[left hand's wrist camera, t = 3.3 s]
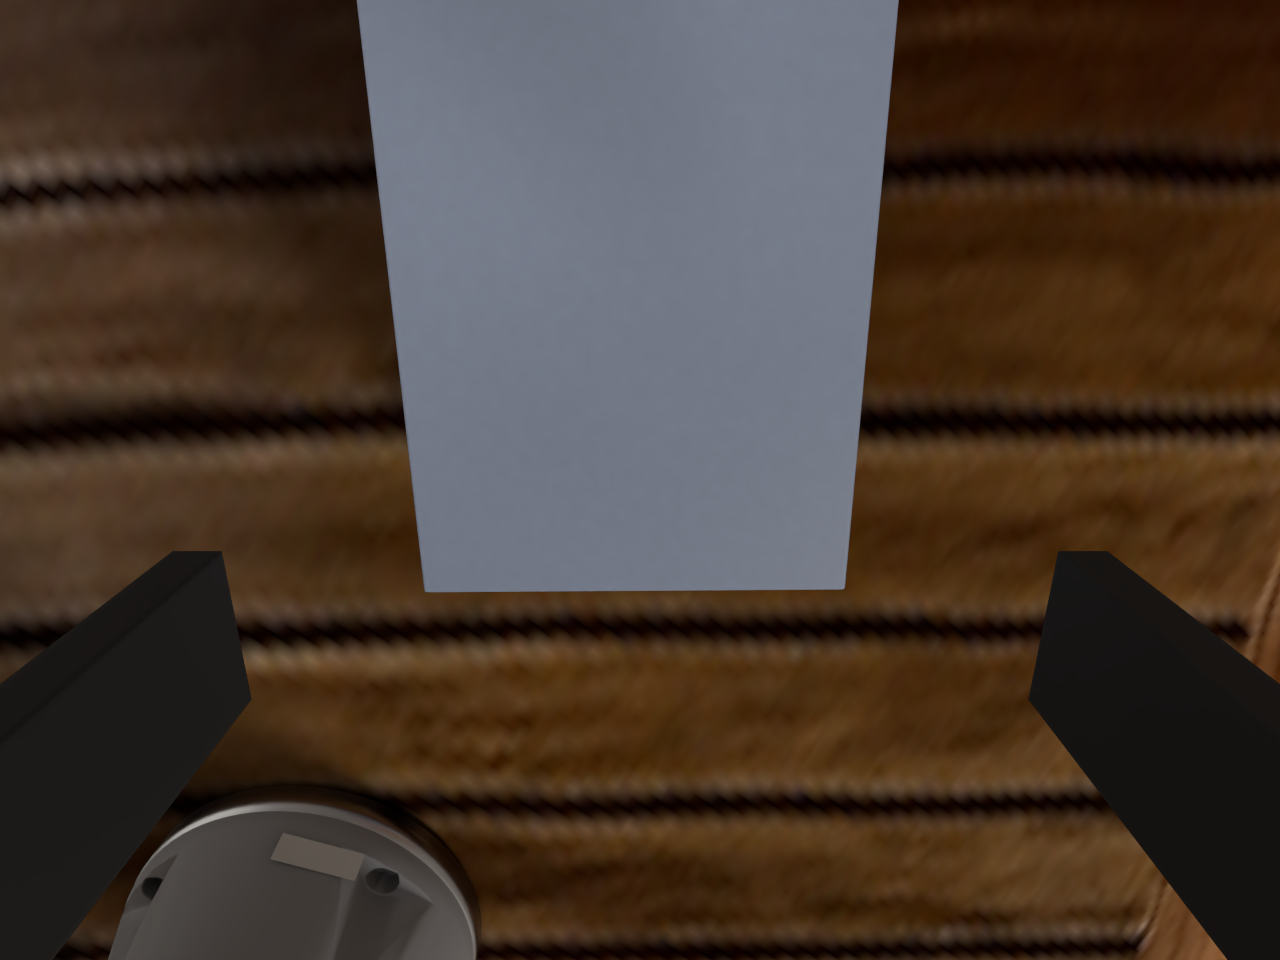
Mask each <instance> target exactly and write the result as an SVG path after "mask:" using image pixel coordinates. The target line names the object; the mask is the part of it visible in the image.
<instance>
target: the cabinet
mask: <svg viewBox="0 0 1280 960" xmlns="http://www.w3.org/2000/svg"><path fill="white" fill-rule="evenodd" d="M898 1H899V0H357V7H358V16H359V24H360V33H361V42H362V50H363V59H364V68H365V77H366V85H367V94H368V103H369V111H370V120H371V129H372V138H373V146H374V155H375V164H376V172H377V181H378V190H379V198H380V207H381V216H382V225H383V233H384V242H385V251H386V259H387V268H388V277H389V286H390V294H391V303H392V312H393V320H394V329H395V338H396V347H397V355H398V364H399V373H400V381H401V390H402V399H403V407H404V416H405V425H406V434H407V442H408V451H409V460H410V468H411V477H412V486H413V495H414V503H415V512H416V521H417V529H418V538H419V547H420V555H421V564H422V573H423V582H424V590H425V592H514V591H665V590H816V589H844V587H845V579H846V569H847V558H848V547H849V536H850V525H851V514H852V503H853V492H854V481H855V470H856V459H857V448H858V438H859V427H860V416H861V405H862V394H863V383H864V372H865V361H866V350H867V339H868V328H869V318H870V307H871V296H872V285H873V274H874V263H875V252H876V241H877V230H878V219H879V208H880V197H881V187H882V176H883V165H884V154H885V143H886V132H887V121H888V110H889V99H890V88H891V77H892V67H893V56H894V45H895V34H896V23H897V12H898Z"/></svg>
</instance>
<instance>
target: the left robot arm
mask: <svg viewBox="0 0 1280 960" xmlns="http://www.w3.org/2000/svg"><path fill="white" fill-rule="evenodd" d="M250 701H251V694H250V689H249V685H248V680H247V675H246V670H245V665H244V660H243V655H242V650H241V645H240V640H239V635H238V630H237V625H236V620H235V615H234V610H233V605H232V600H231V595H230V591H229V586H228V581H227V576H226V571H225V566H224V561H223V556H222V551H172V552H171V553H170V554H169V555H167V556H166V557H165V558H163V559H162V560H161V561H160V562H158V563H157V564H156V565H154V566H153V567H152V568H150V569H149V570H148V571H147V572H145V573H144V574H143V575H141V576H140V577H139V578H137V579H136V580H135V581H134V582H132V583H131V584H130V585H128V586H127V587H126V588H124V589H123V590H122V591H121V592H119V593H118V594H117V595H115V596H114V597H113V598H111V599H110V600H109V601H108V602H106V603H105V604H104V605H102V606H101V607H100V608H98V609H97V610H96V611H95V612H93V613H92V614H91V615H89V616H88V617H87V618H86V619H84V620H83V621H82V622H80V623H79V624H78V625H76V626H75V627H74V628H73V629H71V630H70V631H69V632H67V633H66V634H65V635H63V636H62V637H61V638H60V639H58V640H57V641H56V642H54V643H53V644H52V645H50V646H49V647H48V648H47V649H45V650H44V651H43V652H41V653H40V654H39V655H37V656H36V657H35V658H34V659H32V660H31V661H30V662H28V663H27V664H26V665H25V666H23V667H22V668H21V669H19V670H18V671H17V672H15V673H14V674H13V675H12V676H10V677H9V678H8V679H6V680H5V681H4V682H2V683H1V684H0V960H53V958H54V957H55V956H56V954H57V953H58V952H59V951H60V949H61V948H62V947H63V945H64V944H65V943H66V941H67V940H68V939H69V937H70V936H71V935H72V934H73V932H74V931H75V930H76V928H77V927H78V926H79V924H80V923H81V922H82V920H83V919H84V918H85V917H86V915H87V914H88V913H89V911H90V910H91V909H92V907H93V906H94V905H95V903H96V902H97V901H98V900H99V898H100V897H101V896H102V894H103V893H104V892H105V890H106V889H107V888H108V886H109V885H110V884H111V883H112V881H113V880H114V879H115V877H116V876H117V875H118V873H119V872H120V871H121V869H122V868H123V867H124V866H125V864H126V863H127V862H128V860H129V859H130V858H131V856H132V855H133V854H134V852H135V851H136V850H137V849H138V847H139V846H140V845H141V843H142V842H143V841H144V839H145V838H146V837H147V835H148V834H149V833H150V832H151V830H152V829H153V828H154V826H155V825H156V824H157V822H158V821H159V820H160V818H161V817H162V816H163V815H164V813H165V812H166V811H167V809H168V808H169V807H170V805H171V804H172V803H173V801H174V800H175V799H176V798H177V796H178V795H179V794H180V792H181V791H182V790H183V788H184V787H185V786H186V784H187V783H188V782H189V781H190V779H191V778H192V777H193V775H194V774H195V773H196V771H197V770H198V769H199V767H200V766H201V765H202V764H203V762H204V761H205V760H206V758H207V757H208V756H209V754H210V753H211V752H212V750H213V749H214V748H215V747H216V745H217V744H218V743H219V741H220V740H221V739H222V737H223V736H224V735H225V733H226V732H227V731H228V730H229V728H230V727H231V726H232V724H233V723H234V722H235V720H236V719H237V718H238V716H239V715H240V714H241V713H242V711H243V710H244V709H245V707H246V706H247V705H248V703H249V702H250ZM1029 701H1030V702H1031V703H1032V705H1033V706H1034V707H1035V709H1036V710H1037V711H1038V713H1039V714H1040V715H1041V716H1042V718H1043V719H1044V720H1045V722H1046V723H1047V724H1048V726H1049V727H1050V728H1051V730H1052V731H1053V732H1054V733H1055V735H1056V736H1057V737H1058V739H1059V740H1060V741H1061V743H1062V744H1063V745H1064V747H1065V748H1066V749H1067V750H1068V752H1069V753H1070V754H1071V756H1072V757H1073V758H1074V760H1075V761H1076V762H1077V764H1078V765H1079V766H1080V767H1081V769H1082V770H1083V771H1084V773H1085V774H1086V775H1087V777H1088V778H1089V779H1090V781H1091V782H1092V783H1093V784H1094V786H1095V787H1096V788H1097V790H1098V791H1099V792H1100V794H1101V795H1102V796H1103V798H1104V799H1105V800H1106V801H1107V803H1108V804H1109V805H1110V807H1111V808H1112V809H1113V811H1114V812H1115V813H1116V815H1117V816H1118V817H1119V818H1120V820H1121V821H1122V822H1123V824H1124V825H1125V826H1126V828H1127V829H1128V830H1129V832H1130V833H1131V834H1132V835H1133V837H1134V838H1135V839H1136V841H1137V842H1138V843H1139V845H1140V846H1141V847H1142V849H1143V850H1144V851H1145V852H1146V854H1147V855H1148V856H1149V858H1150V859H1151V860H1152V862H1153V863H1154V864H1155V866H1156V867H1157V868H1158V869H1159V871H1160V872H1161V873H1162V875H1163V876H1164V877H1165V879H1166V880H1167V881H1168V883H1169V884H1170V885H1171V886H1172V888H1173V889H1174V890H1175V892H1176V893H1177V894H1178V896H1179V897H1180V898H1181V900H1182V901H1183V902H1184V903H1185V905H1186V906H1187V907H1188V909H1189V910H1190V911H1191V913H1192V914H1193V915H1194V917H1195V918H1196V919H1197V920H1198V922H1199V923H1200V924H1201V926H1202V927H1203V928H1204V930H1205V931H1206V932H1207V934H1208V935H1209V936H1210V937H1211V939H1212V940H1213V941H1214V943H1215V944H1216V945H1217V947H1218V948H1219V949H1220V951H1221V952H1222V953H1223V954H1224V956H1225V957H1226V958H1227V960H1280V684H1279V683H1278V682H1276V681H1275V680H1274V679H1272V678H1271V677H1270V676H1268V675H1267V674H1266V673H1265V672H1263V671H1262V670H1261V669H1259V668H1258V667H1257V666H1255V665H1254V664H1253V663H1252V662H1250V661H1249V660H1248V659H1246V658H1245V657H1244V656H1243V655H1241V654H1240V653H1239V652H1237V651H1236V650H1235V649H1233V648H1232V647H1231V646H1230V645H1228V644H1227V643H1226V642H1224V641H1223V640H1222V639H1220V638H1219V637H1218V636H1217V635H1215V634H1214V633H1213V632H1211V631H1210V630H1209V629H1207V628H1206V627H1205V626H1204V625H1202V624H1201V623H1200V622H1198V621H1197V620H1196V619H1194V618H1193V617H1192V616H1191V615H1189V614H1188V613H1187V612H1185V611H1184V610H1183V609H1182V608H1180V607H1179V606H1178V605H1176V604H1175V603H1174V602H1172V601H1171V600H1170V599H1169V598H1167V597H1166V596H1165V595H1163V594H1162V593H1161V592H1159V591H1158V590H1157V589H1156V588H1154V587H1153V586H1152V585H1150V584H1149V583H1148V582H1146V581H1145V580H1144V579H1143V578H1141V577H1140V576H1139V575H1137V574H1136V573H1135V572H1133V571H1132V570H1131V569H1130V568H1128V567H1127V566H1126V565H1124V564H1123V563H1122V562H1120V561H1119V560H1118V559H1117V558H1115V557H1114V556H1113V555H1111V554H1110V553H1109V552H1108V551H1058V556H1057V561H1056V566H1055V571H1054V576H1053V581H1052V586H1051V591H1050V595H1049V600H1048V605H1047V610H1046V615H1045V620H1044V625H1043V630H1042V635H1041V640H1040V645H1039V650H1038V655H1037V660H1036V665H1035V670H1034V675H1033V680H1032V685H1031V689H1030V694H1029ZM480 938H481V916H480V909H479V905H478V900H477V897H476V894H475V892H474V889H473V886H472V884H471V882H470V880H469V878H468V876H467V875H466V873H465V871H464V870H463V868H462V867H461V865H460V864H459V862H458V861H457V860H456V859H455V857H454V856H453V855H452V854H451V852H450V851H449V850H448V849H447V848H446V847H445V846H444V845H443V844H442V843H441V842H440V841H439V840H438V839H437V838H435V837H434V836H433V835H432V834H431V833H430V832H428V831H427V830H426V829H424V828H423V827H422V826H420V825H419V824H417V823H416V822H415V821H413V820H411V819H410V818H408V817H406V816H405V815H403V814H401V813H400V812H398V811H395V810H393V809H391V808H389V807H387V806H385V805H383V804H381V803H378V802H375V801H373V800H370V799H368V798H365V797H362V796H358V795H355V794H352V793H348V792H344V791H339V790H335V789H329V788H323V787H316V786H302V785H278V786H266V787H259V788H253V789H247V790H243V791H240V792H236V793H232V794H229V795H226V796H224V797H221V798H218V799H216V800H214V801H212V802H210V803H207V804H205V805H203V806H202V807H200V808H198V809H197V810H195V811H194V812H192V813H190V814H189V815H188V816H187V817H185V818H184V819H183V820H182V821H180V822H179V823H178V824H177V825H176V826H175V827H174V828H173V829H172V830H171V831H170V832H169V834H168V835H167V836H166V838H165V839H164V840H163V841H162V843H161V844H160V846H159V847H158V848H157V850H156V851H155V852H154V854H153V855H152V856H151V858H150V859H149V861H148V862H147V863H146V865H145V866H144V867H143V869H142V871H141V872H140V874H139V876H138V878H137V880H136V882H135V885H134V887H133V889H132V891H131V893H130V895H129V897H128V899H127V902H126V905H125V908H124V911H123V914H122V917H121V920H120V923H119V927H118V930H117V933H116V936H115V939H114V943H113V946H112V949H111V952H110V955H109V959H108V960H476V958H477V954H478V949H479V944H480Z"/></svg>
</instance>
